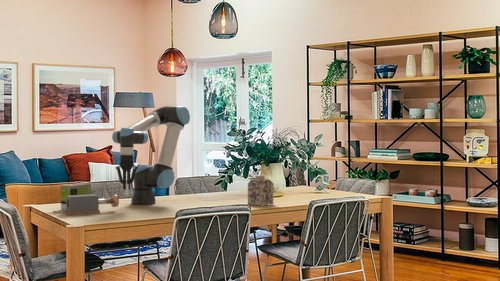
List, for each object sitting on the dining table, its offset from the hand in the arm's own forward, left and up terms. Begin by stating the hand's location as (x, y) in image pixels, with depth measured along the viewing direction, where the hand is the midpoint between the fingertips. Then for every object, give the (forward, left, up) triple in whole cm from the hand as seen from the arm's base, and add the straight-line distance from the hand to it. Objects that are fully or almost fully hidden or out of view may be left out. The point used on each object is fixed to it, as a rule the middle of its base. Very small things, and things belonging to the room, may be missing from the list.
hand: (126, 195), depth 390 cm
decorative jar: (-81, +15, -9) cm, 83 cm away
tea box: (+24, -20, -9) cm, 32 cm away
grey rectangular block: (+16, 0, -6) cm, 17 cm away
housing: (+26, 0, -9) cm, 27 cm away
